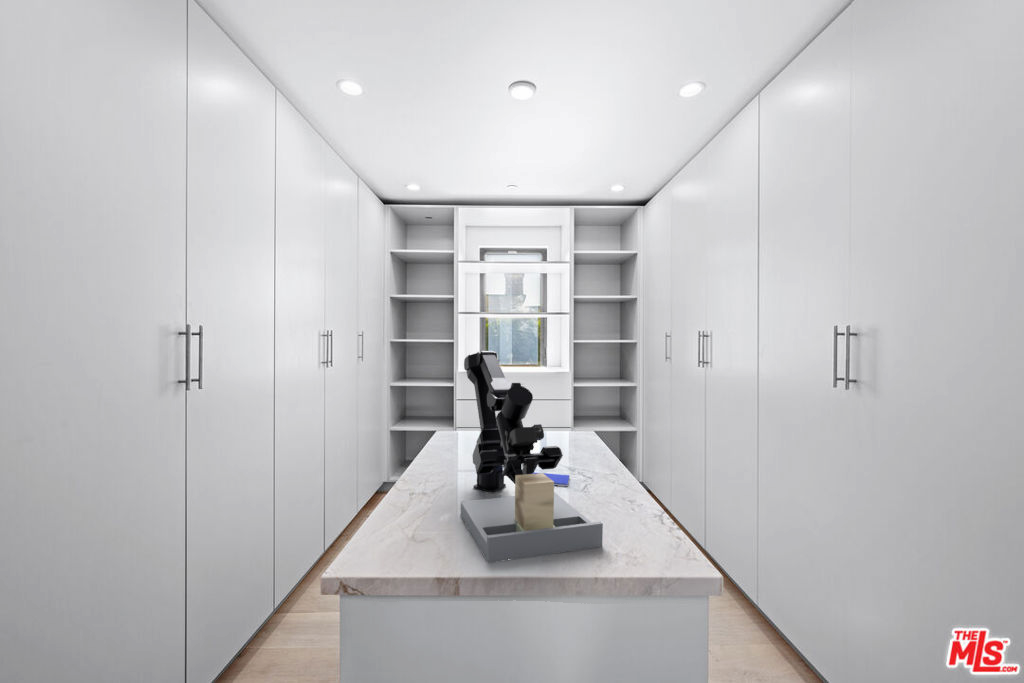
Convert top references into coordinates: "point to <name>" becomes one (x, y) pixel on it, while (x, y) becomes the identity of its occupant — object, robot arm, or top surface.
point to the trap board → (509, 539)
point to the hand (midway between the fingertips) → (528, 496)
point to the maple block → (534, 501)
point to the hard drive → (558, 479)
